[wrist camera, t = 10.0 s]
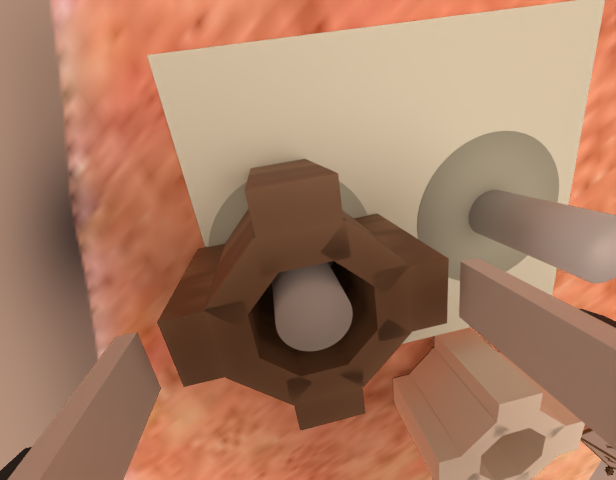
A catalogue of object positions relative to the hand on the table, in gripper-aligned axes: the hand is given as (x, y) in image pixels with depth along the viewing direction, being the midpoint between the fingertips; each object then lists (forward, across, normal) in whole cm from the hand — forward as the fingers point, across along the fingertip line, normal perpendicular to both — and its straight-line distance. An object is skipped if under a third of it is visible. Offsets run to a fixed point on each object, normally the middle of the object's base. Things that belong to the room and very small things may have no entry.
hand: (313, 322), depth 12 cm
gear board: (+8, -7, -2) cm, 11 cm away
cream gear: (+9, -12, +15) cm, 21 cm away
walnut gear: (+6, 0, -1) cm, 6 cm away
